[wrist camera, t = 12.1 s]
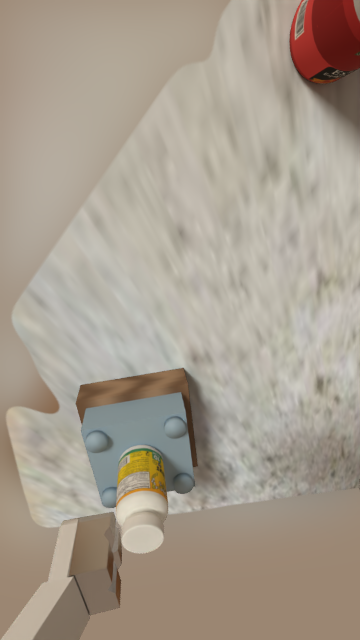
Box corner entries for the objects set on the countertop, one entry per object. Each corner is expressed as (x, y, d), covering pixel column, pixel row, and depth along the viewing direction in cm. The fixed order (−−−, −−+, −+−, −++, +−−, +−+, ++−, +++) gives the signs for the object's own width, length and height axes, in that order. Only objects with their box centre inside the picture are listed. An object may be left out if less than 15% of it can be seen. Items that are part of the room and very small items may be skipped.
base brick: (183, 368, 44) (187, 384, 40) (192, 445, 49) (197, 466, 46) (80, 385, 43) (75, 403, 39) (101, 462, 48) (99, 485, 45)
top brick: (180, 392, 41) (186, 417, 36) (190, 462, 45) (196, 492, 41) (85, 408, 40) (79, 437, 35) (105, 478, 44) (101, 511, 40)
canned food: (306, 102, 34) (379, 65, 24) (272, 21, 31) (339, -62, 21) (370, 55, 33) (474, -5, 23) (341, -34, 30) (446, -147, 20)
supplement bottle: (115, 447, 38) (109, 525, 29) (160, 439, 38) (168, 514, 29) (122, 480, 40) (119, 563, 31) (165, 472, 40) (174, 552, 31)
